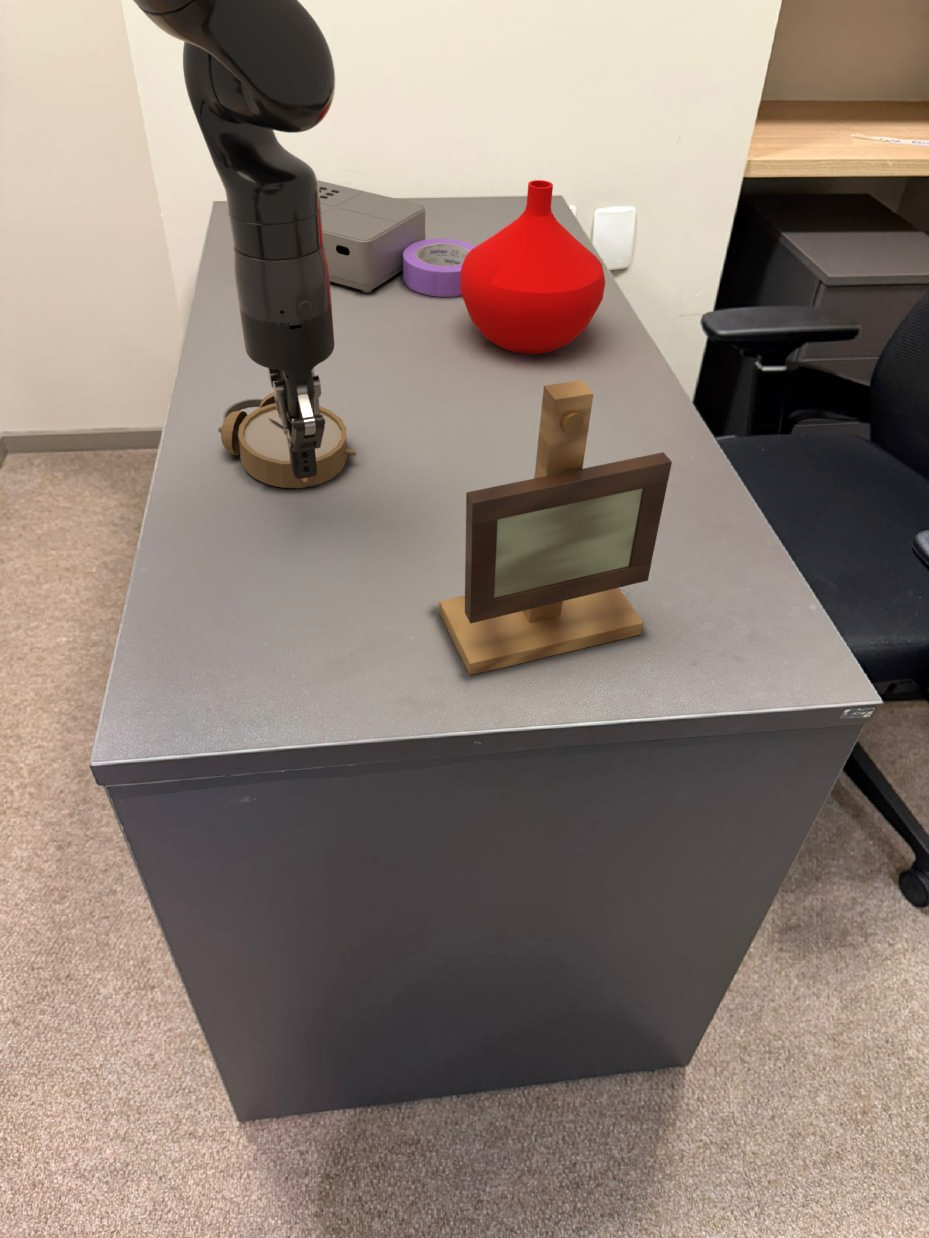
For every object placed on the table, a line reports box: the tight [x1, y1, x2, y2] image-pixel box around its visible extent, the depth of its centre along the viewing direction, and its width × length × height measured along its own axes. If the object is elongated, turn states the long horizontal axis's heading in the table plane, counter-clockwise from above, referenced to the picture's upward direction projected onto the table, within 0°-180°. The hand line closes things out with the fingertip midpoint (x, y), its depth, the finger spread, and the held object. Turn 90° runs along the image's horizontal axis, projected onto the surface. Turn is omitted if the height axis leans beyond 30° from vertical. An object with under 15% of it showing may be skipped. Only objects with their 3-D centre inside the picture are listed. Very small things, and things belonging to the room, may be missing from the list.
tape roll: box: [402, 238, 477, 298], centre depth 130 cm, size 12×12×4 cm
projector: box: [317, 179, 426, 294], centre depth 132 cm, size 17×22×8 cm
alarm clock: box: [217, 392, 357, 489], centre depth 96 cm, size 11×5×15 cm
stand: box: [438, 379, 644, 676], centre depth 71 cm, size 16×8×23 cm, turn 110°
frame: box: [464, 451, 673, 623], centre depth 70 cm, size 16×1×12 cm, turn 110°
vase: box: [460, 179, 606, 355], centre depth 112 cm, size 18×18×19 cm
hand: (304, 473), depth 86 cm, fingers closed
